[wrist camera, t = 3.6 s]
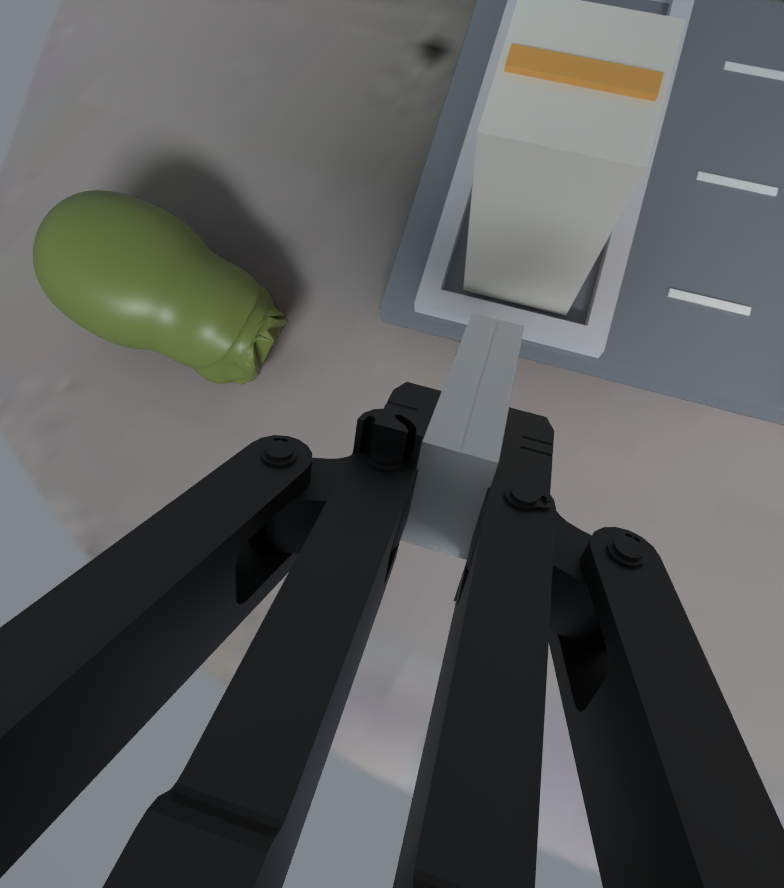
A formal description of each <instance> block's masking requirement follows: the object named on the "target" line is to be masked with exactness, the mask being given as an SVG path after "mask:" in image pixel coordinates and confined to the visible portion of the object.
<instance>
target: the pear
mask: <svg viewBox="0 0 784 888" xmlns="http://www.w3.org/2000/svg"><path fill="white" fill-rule="evenodd" d="M33 264H34V270H35V273H36V276H37V279H38V281H39V284H40V286H41V287H42V289H43V291H44V292H45V294H46V295H47V297H48V298H49V299H50V300H51V302H52V303H53V304H54V305H55V306H56V307H57V308H58V309H59V310H60V311H61V312H62V313H64V314H65V315H66V316H67V317H68V318H70V319H71V320H72V321H74V322H75V323H77V324H78V325H79V326H81V327H82V328H84V329H86V330H87V331H89V332H91V333H93V334H95V335H96V336H98V337H101V338H103V339H105V340H107V341H110V342H112V343H115V344H118V345H121V346H124V347H129V348H134V349H142V350H152V351H156V352H158V353H161V354H163V355H165V356H168V357H170V358H172V359H173V360H175V361H177V362H180V363H182V364H184V365H187V366H189V367H192V368H193V369H194V370H195V371H196V372H197V373H198V374H200V375H201V376H202V377H203V378H205V379H207V380H209V381H211V382H214V383H220V384H222V383H228V382H236V383H239V384H245V383H246V382H249V381H252V380H254V379H255V378H256V376H258V375H259V374H260V368H261V366H262V364H263V363H264V360H265V359H266V357H267V355H268V353H269V351H270V349H271V347H272V345H273V343H274V341H275V339H276V338H277V336H278V334H279V333H280V331H281V330H282V328H283V327H284V326H285V325H286V324H287V323H288V319H286V318H284V315H285V314H283V313H281V311H280V310H277V309H276V308H275V306H274V305H273V300H272V297H271V295H270V294H269V292H268V291H267V290H266V289H265V288H264V287H263V286H261V285H260V284H258V283H257V282H256V280H255V279H254V278H253V277H252V276H251V275H250V274H249V273H247V272H246V271H245V270H243V269H242V268H240V267H238V266H236V265H234V264H232V263H230V262H228V261H227V260H225V259H223V258H221V257H219V256H218V255H216V254H215V253H213V252H212V251H211V250H210V249H209V248H208V247H207V246H206V244H205V243H204V242H203V241H202V239H201V238H200V237H199V236H198V235H197V234H196V233H195V231H194V230H193V229H192V228H190V227H189V226H188V225H187V224H186V223H185V222H183V221H182V220H181V219H179V218H178V217H176V216H175V215H173V214H171V213H170V212H168V211H166V210H164V209H162V208H160V207H158V206H156V205H154V204H152V203H149V202H147V201H144V200H141V199H139V198H136V197H132V196H129V195H126V194H122V193H117V192H111V191H99V190H97V191H85V192H81V193H77V194H74V195H72V196H70V197H68V198H66V199H64V200H62V201H61V202H60V203H58V204H57V205H56V206H55V207H53V208H52V209H51V210H50V211H49V212H48V214H47V215H46V216H45V218H44V219H43V221H42V222H41V224H40V226H39V228H38V231H37V233H36V237H35V241H34V246H33Z"/></svg>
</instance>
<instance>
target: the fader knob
mask: <svg viewBox="0 0 784 888" xmlns="http://www.w3.org/2000/svg"><path fill="white" fill-rule="evenodd" d="M684 23H685V19H682V18H676V17H670V16H665V15H659V14H654V13H648V12H643V11H637V10H632V9H626V8H621V7H615V6H610V5H604V4H599V3H593V2H588V1H582V0H517V3H516V7H515V10H514V13H513V17H512V20H511V23H510V26H509V30H508V33H507V36H506V39H505V43H504V46H503V49H502V53H501V56H500V59H499V62H498V66H497V69H496V72H495V75H494V79H493V82H492V85H491V88H490V92H489V95H488V98H487V102H486V105H485V108H484V111H483V115H482V118H481V121H480V124H479V128H478V131H477V141H476V152H475V163H474V174H473V186H472V197H471V208H470V219H469V230H468V242H467V253H466V264H465V275H464V286H463V290H464V291H468V292H472V293H476V294H480V295H484V296H488V297H492V298H496V299H501V300H505V301H509V302H513V303H517V304H521V305H525V306H529V307H533V308H537V309H541V310H545V311H549V312H553V313H557V314H561V315H565V316H566V314H567V312H568V311H569V309H570V307H571V305H572V303H573V301H574V300H575V298H576V296H577V294H578V292H579V290H580V289H581V287H582V285H583V283H584V281H585V280H586V278H587V276H588V274H589V272H590V270H591V269H592V267H593V265H594V263H595V261H596V259H597V258H598V256H599V254H600V252H601V250H602V249H603V247H604V245H605V243H606V241H607V239H608V238H609V236H610V234H611V232H612V230H613V228H614V227H615V225H616V223H617V221H618V219H619V218H620V216H621V214H622V212H623V210H624V208H625V207H626V205H627V203H628V201H629V199H630V198H631V196H632V194H633V192H634V190H635V188H636V187H637V185H638V183H639V181H640V179H641V177H642V176H643V174H644V172H645V170H646V168H647V165H648V161H649V158H650V154H651V150H652V146H653V142H654V138H655V134H656V131H657V127H658V123H659V119H660V115H661V111H662V107H663V104H664V100H665V96H666V92H667V88H668V84H669V80H670V77H671V73H672V69H673V65H674V61H675V57H676V53H677V50H678V46H679V42H680V38H681V34H682V30H683V26H684Z"/></svg>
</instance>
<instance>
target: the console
mask: <svg viewBox="0 0 784 888" xmlns="http://www.w3.org/2000/svg"><path fill="white" fill-rule="evenodd" d="M582 1H588V2H593V3H599V4H604V5H610V6H615V7H621V8H626V9H632V10H637V11H643V12H648V13H654V14H659V15H665V16H670V17H676V18H682V19H685V23H684V26H683V30H682V34H681V38H680V42H679V46H678V50H677V53H676V57H675V61H674V65H673V69H672V73H671V77H670V80H669V84H668V88H667V92H666V96H665V100H664V104H663V107H662V111H661V115H660V119H659V123H658V127H657V131H656V134H655V138H654V142H653V146H652V150H651V154H650V158H649V161H648V165H647V168H646V170H645V172H644V174H643V176H642V177H641V179H640V181H639V183H638V185H637V187H636V188H635V190H634V192H633V194H632V196H631V198H630V199H629V201H628V203H627V205H626V207H625V208H624V210H623V212H622V214H621V216H620V218H619V219H618V221H617V223H616V225H615V227H614V228H613V230H612V232H611V234H610V236H609V238H608V239H607V241H606V243H605V245H604V247H603V249H602V250H601V252H600V254H599V256H598V258H597V259H596V261H595V263H594V265H593V267H592V269H591V270H590V272H589V274H588V276H587V278H586V280H585V281H584V283H583V285H582V287H581V289H580V290H579V292H578V294H577V296H576V298H575V300H574V301H573V303H572V305H571V307H570V309H569V311H568V312H567V314H566V316H565V315H561V314H557V313H553V312H549V311H545V310H541V309H537V308H533V307H529V306H525V305H521V304H517V303H513V302H509V301H505V300H501V299H496V298H492V297H488V296H484V295H480V294H476V293H472V292H468V291H464V290H463V286H464V275H465V264H466V253H467V242H468V230H469V219H470V208H471V197H472V186H473V174H474V163H475V152H476V141H477V131H478V128H479V124H480V121H481V118H482V115H483V111H484V108H485V105H486V102H487V98H488V95H489V92H490V88H491V85H492V82H493V79H494V75H495V72H496V69H497V66H498V62H499V59H500V56H501V53H502V49H503V46H504V43H505V39H506V36H507V33H508V30H509V26H510V23H511V20H512V17H513V13H514V10H515V7H516V3H517V0H477V1H476V5H475V8H474V11H473V14H472V17H471V20H470V24H469V27H468V30H467V33H466V36H465V39H464V42H463V46H462V49H461V52H460V55H459V58H458V61H457V65H456V68H455V71H454V74H453V77H452V80H451V84H450V87H449V90H448V93H447V96H446V99H445V102H444V106H443V109H442V112H441V115H440V118H439V121H438V125H437V128H436V131H435V134H434V137H433V140H432V143H431V147H430V150H429V153H428V156H427V159H426V162H425V166H424V169H423V172H422V175H421V178H420V181H419V185H418V188H417V191H416V194H415V197H414V200H413V203H412V207H411V210H410V213H409V216H408V219H407V222H406V226H405V229H404V232H403V235H402V238H401V241H400V245H399V248H398V251H397V254H396V257H395V260H394V263H393V267H392V270H391V273H390V276H389V279H388V282H387V286H386V289H385V292H384V295H383V298H382V301H381V305H380V311H381V315H382V319H383V322H387V323H391V324H394V325H398V326H402V327H406V328H410V329H414V330H418V331H422V332H425V333H429V334H433V335H437V336H441V337H445V338H449V339H452V340H456V341H460V342H461V340H462V337H463V335H464V332H465V330H466V327H467V324H468V322H469V319H470V316H471V314H472V313H475V314H479V315H483V316H487V317H491V318H495V319H499V320H503V321H507V322H511V323H515V324H519V325H524V331H523V336H522V341H521V347H520V352H519V357H522V358H526V359H530V360H534V361H537V362H541V363H545V364H549V365H553V366H557V367H561V368H565V369H568V370H572V371H576V372H580V373H584V374H588V375H592V376H595V377H599V378H603V379H607V380H611V381H615V382H619V383H623V384H626V385H630V386H634V387H638V388H642V389H646V390H650V391H653V392H657V393H661V394H665V395H669V396H673V397H677V398H680V399H684V400H688V401H692V402H696V403H700V404H704V405H708V406H711V407H715V408H719V409H723V410H727V411H731V412H735V413H738V414H742V415H746V416H750V417H754V418H758V419H762V420H766V421H769V422H773V423H777V424H781V425H784V2H779V1H774V0H582Z"/></svg>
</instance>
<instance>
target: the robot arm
mask: <svg viewBox="0 0 784 888" xmlns="http://www.w3.org/2000/svg"><path fill="white" fill-rule="evenodd" d="M523 331H524V325H519V324H515V323H511V322H507V321H503V320H499V319H495V318H491V317H487V316H483V315H479V314H475V313H472V314H471V316H470V319H469V322H468V324H467V327H466V330H465V332H464V335H463V337H462V340H461V343H460V345H459V348H458V350H457V353H456V356H455V358H454V361H453V363H452V366H451V369H450V371H449V374H448V376H447V379H446V382H445V384H444V387H443V389H442V391H439V390H435V389H432V388H428V387H424V386H420V385H416V384H413V383H409V382H406V383H404V384H402V385H401V386H399V387H397V388H396V389H394V390H393V392H392V394H391V396H390V398H389V400H388V402H387V403H386V405H385V407H384V409H373V410H371V411H368V412H365V413H363V414H362V415H361V416H360V417H359V418H358V420H357V427H356V435H355V442H354V449H353V453H352V455H351V456H348V457H344V458H339V459H323V458H312V452H311V451H310V449H309V447H308V446H307V445H306V444H304V443H303V442H301V441H300V440H298V439H295V438H292V437H289V436H278V435H273V436H268V437H262V438H260V439H258V440H256V441H254V442H252V443H251V444H249V445H248V446H247V447H245V448H244V449H243V450H241V451H240V452H239V453H237V454H236V455H234V456H233V457H232V458H230V459H229V460H228V461H226V462H225V463H224V464H222V465H221V466H219V467H218V468H217V469H215V470H214V471H213V472H211V473H210V474H209V475H207V476H206V477H205V478H203V479H202V480H200V481H199V482H198V483H196V484H195V485H194V486H192V487H191V488H190V489H188V490H187V491H185V492H184V493H183V494H181V495H180V496H179V497H177V498H176V499H175V500H173V501H172V502H170V503H169V504H168V505H166V506H165V507H164V508H162V509H161V510H160V511H158V512H157V513H156V514H154V515H153V516H151V517H150V518H149V519H147V520H146V521H145V522H143V523H142V524H141V525H139V526H138V527H136V528H135V529H134V530H132V531H131V532H130V533H128V534H127V535H126V536H124V537H123V538H122V539H120V540H119V541H117V542H116V543H115V544H113V545H112V546H111V547H109V548H108V549H107V550H105V551H104V552H102V553H101V554H100V555H98V556H97V557H96V558H94V559H93V560H92V561H90V562H89V563H87V564H86V565H85V566H83V567H82V568H81V569H79V570H78V571H77V572H75V573H74V574H73V575H71V576H70V577H68V578H67V579H66V580H64V581H63V582H62V583H60V584H59V585H58V586H56V587H55V588H53V589H52V590H51V591H50V592H48V593H47V594H45V595H44V596H43V597H41V598H40V599H39V600H38V601H36V602H34V603H33V604H32V605H30V606H29V607H28V608H26V609H25V610H24V611H22V612H21V613H19V614H18V615H17V616H15V617H14V618H13V619H11V620H10V621H9V622H7V623H6V624H4V625H3V626H2V627H0V878H1V877H2V876H3V875H4V874H5V873H6V872H7V871H8V869H9V868H10V867H11V866H12V865H13V864H14V863H15V862H16V861H17V860H18V859H19V858H20V857H21V856H22V855H23V854H24V852H25V851H26V850H27V849H28V848H29V847H30V846H31V845H32V844H33V843H34V842H35V841H36V840H37V839H38V838H39V837H40V836H41V834H42V833H43V832H44V831H45V830H46V829H47V828H48V827H49V826H50V825H51V824H52V823H53V822H54V821H55V819H57V817H58V816H59V815H60V814H61V813H62V812H63V811H64V810H65V809H66V808H67V807H68V806H69V805H70V804H71V803H72V801H73V800H74V799H75V798H76V797H77V796H78V795H79V794H80V793H81V792H82V791H83V790H84V789H85V788H86V787H87V786H88V785H89V783H90V782H91V781H92V780H93V779H94V778H95V777H96V776H97V775H98V774H99V773H100V772H101V771H102V770H103V768H104V767H106V765H107V764H108V763H109V762H110V761H111V760H112V759H113V758H114V757H115V756H116V755H117V754H118V753H119V752H120V751H121V749H122V748H123V747H124V746H125V745H126V744H127V743H128V742H129V741H130V740H131V739H132V738H133V737H134V736H135V735H136V734H137V733H138V731H139V730H140V729H141V728H142V727H143V726H144V725H145V724H146V723H147V722H148V721H149V720H150V719H151V718H152V717H153V715H154V714H155V713H156V712H157V711H158V710H159V709H160V708H161V707H162V706H163V705H164V704H165V703H166V702H167V701H168V700H169V698H171V696H172V695H173V694H174V693H175V692H176V691H177V690H178V689H179V688H180V687H181V686H182V685H183V684H184V683H185V682H186V681H187V679H188V678H189V677H190V676H191V675H192V674H193V673H194V672H195V671H196V670H197V669H198V668H199V667H200V666H201V665H202V664H203V662H204V661H205V660H206V659H207V658H208V657H209V656H210V655H211V654H212V653H213V652H214V651H215V650H216V649H217V648H218V647H219V645H220V644H221V643H222V642H223V641H224V640H225V639H226V638H227V637H228V636H229V635H230V634H231V633H232V632H233V631H234V630H235V628H236V627H237V626H238V625H239V624H240V623H241V622H242V621H243V620H244V619H245V618H246V617H247V616H248V615H249V614H250V613H251V612H252V610H253V609H254V608H255V607H256V606H257V605H258V604H259V603H260V602H261V601H262V600H263V599H264V598H265V597H266V596H267V595H268V593H269V592H270V591H271V590H272V589H273V588H274V587H275V586H276V585H277V584H278V583H279V582H280V581H281V580H282V579H283V578H284V576H285V575H286V574H287V573H288V572H289V573H288V575H287V577H286V579H285V581H284V583H283V585H282V586H281V588H280V590H279V592H278V594H277V596H276V598H275V600H274V601H273V603H272V605H271V607H270V609H269V611H268V613H267V615H266V616H265V618H264V620H263V622H262V624H261V626H260V628H259V630H258V631H257V633H256V635H255V637H254V639H253V641H252V643H251V645H250V646H249V648H248V650H247V652H246V654H245V656H244V658H243V660H242V661H241V663H240V665H239V667H238V669H237V671H236V673H235V675H234V676H233V678H232V680H231V682H230V684H229V686H228V688H227V690H226V691H225V693H224V695H223V697H222V699H221V701H220V703H219V705H218V706H217V708H216V710H215V712H214V714H213V716H212V718H211V720H210V722H209V723H208V725H207V727H206V729H205V731H204V733H203V735H202V737H201V739H200V741H199V742H198V744H197V746H196V748H195V750H194V752H193V753H192V755H191V757H190V759H189V761H188V763H187V765H186V766H185V768H184V770H183V772H182V774H181V775H180V777H179V779H178V780H177V782H176V783H175V785H174V786H173V787H172V788H171V790H169V791H167V792H165V793H164V794H162V795H160V796H158V797H157V799H156V800H155V801H154V802H153V803H152V804H151V806H150V807H149V808H148V809H147V811H146V812H145V814H144V816H143V817H142V819H141V820H140V822H139V823H138V825H137V827H136V828H135V830H134V832H133V834H132V836H131V837H130V839H129V841H128V843H127V844H126V846H125V848H124V850H123V852H122V853H121V855H120V857H119V859H118V861H117V862H116V864H115V866H114V868H113V870H112V871H111V873H110V875H109V877H108V879H107V880H106V882H105V884H104V886H103V888H282V886H283V883H284V881H285V877H286V875H287V872H288V869H289V866H290V863H291V860H292V857H293V854H294V852H295V848H296V846H297V843H298V840H299V837H300V834H301V831H302V828H303V826H304V823H305V820H306V817H307V814H308V811H309V808H310V805H311V802H312V799H313V797H314V794H315V791H316V788H317V785H318V782H319V779H320V776H321V773H322V770H323V768H324V765H325V762H326V759H327V756H328V753H329V750H330V747H331V744H332V742H333V739H334V736H335V733H336V730H337V727H338V724H339V721H340V718H341V715H342V713H343V710H344V707H345V704H346V701H347V698H348V695H349V692H350V689H351V687H352V684H353V681H354V678H355V675H356V672H357V669H358V666H359V663H360V660H361V658H362V655H363V652H364V649H365V646H366V643H367V640H368V637H369V634H370V632H371V629H372V626H373V623H374V620H375V617H376V614H377V611H378V608H379V605H380V603H381V600H382V597H383V594H384V591H385V588H386V585H387V582H388V579H389V576H390V574H391V571H392V568H393V565H394V562H395V559H396V555H397V551H398V546H399V542H400V539H401V540H402V541H405V542H409V543H412V544H416V545H419V546H422V547H426V548H429V549H432V550H436V551H439V552H442V553H446V554H449V555H453V556H456V557H459V558H463V559H466V560H467V562H466V565H465V568H464V571H463V574H462V577H461V580H460V583H459V586H458V589H457V592H456V596H455V599H454V601H456V604H455V609H454V613H453V618H452V622H451V627H450V631H449V636H448V640H447V645H446V649H445V654H444V658H443V663H442V667H441V672H440V676H439V681H438V685H437V690H436V694H435V699H434V704H433V708H432V713H431V717H430V722H429V726H428V731H427V735H426V740H425V744H424V749H423V753H422V758H421V762H420V767H419V771H418V776H417V780H416V785H415V789H414V794H413V798H412V803H411V807H410V812H409V816H408V821H407V826H406V830H405V835H404V839H403V843H402V848H401V853H400V857H399V861H398V866H397V871H396V875H395V880H394V884H393V888H535V874H536V856H537V839H538V821H539V803H540V785H541V767H542V749H543V731H544V713H545V696H546V678H547V660H548V642H549V645H550V649H551V654H552V658H553V663H554V668H555V672H556V677H557V681H558V686H559V690H560V695H561V699H562V704H563V708H564V713H565V717H566V722H567V727H568V731H569V736H570V740H571V745H572V749H573V754H574V758H575V763H576V767H577V772H578V776H579V781H580V786H581V790H582V795H583V799H584V804H585V808H586V813H587V817H588V822H589V826H590V831H591V835H592V840H593V845H594V849H595V854H596V858H597V863H598V867H599V872H600V876H601V881H602V885H603V888H784V829H783V827H782V825H781V823H780V820H779V818H778V816H777V814H776V811H775V809H774V807H773V805H772V803H771V800H770V798H769V796H768V794H767V792H766V789H765V787H764V785H763V783H762V781H761V778H760V776H759V774H758V772H757V770H756V767H755V765H754V763H753V761H752V758H751V756H750V754H749V752H748V750H747V747H746V745H745V743H744V741H743V739H742V736H741V734H740V732H739V730H738V728H737V725H736V723H735V721H734V719H733V717H732V714H731V712H730V710H729V708H728V706H727V703H726V701H725V699H724V697H723V694H722V692H721V690H720V688H719V686H718V683H717V681H716V679H715V677H714V675H713V672H712V670H711V668H710V666H709V664H708V661H707V659H706V657H705V655H704V653H703V650H702V648H701V646H700V644H699V641H698V639H697V637H696V635H695V633H694V630H693V628H692V626H691V624H690V622H689V619H688V617H687V615H686V613H685V611H684V608H683V606H682V604H681V602H680V600H679V597H678V595H677V593H676V591H675V588H674V586H673V584H672V582H671V580H670V577H669V575H668V573H667V571H666V569H665V566H664V564H663V562H662V560H661V558H660V556H659V554H658V553H657V552H656V550H655V549H654V547H653V546H652V545H651V544H650V543H648V542H647V541H646V540H645V539H644V538H642V537H641V536H639V535H637V534H635V533H633V532H631V531H629V530H625V529H621V528H617V527H603V528H601V529H599V530H597V531H595V532H594V533H593V535H592V536H591V535H590V534H588V533H586V532H584V531H582V530H580V529H578V528H576V527H575V526H573V525H572V524H570V523H568V522H567V521H566V520H565V519H563V518H562V517H561V516H560V515H559V514H558V512H557V511H556V507H555V502H554V499H553V498H552V497H551V495H550V486H551V471H552V455H553V440H554V430H553V428H552V426H551V424H550V423H549V421H548V419H547V417H544V416H540V415H536V414H532V413H529V412H525V411H521V410H517V409H513V408H510V407H509V405H510V399H511V394H512V389H513V384H514V378H515V373H516V368H517V363H518V357H519V352H520V347H521V341H522V336H523Z"/></svg>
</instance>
